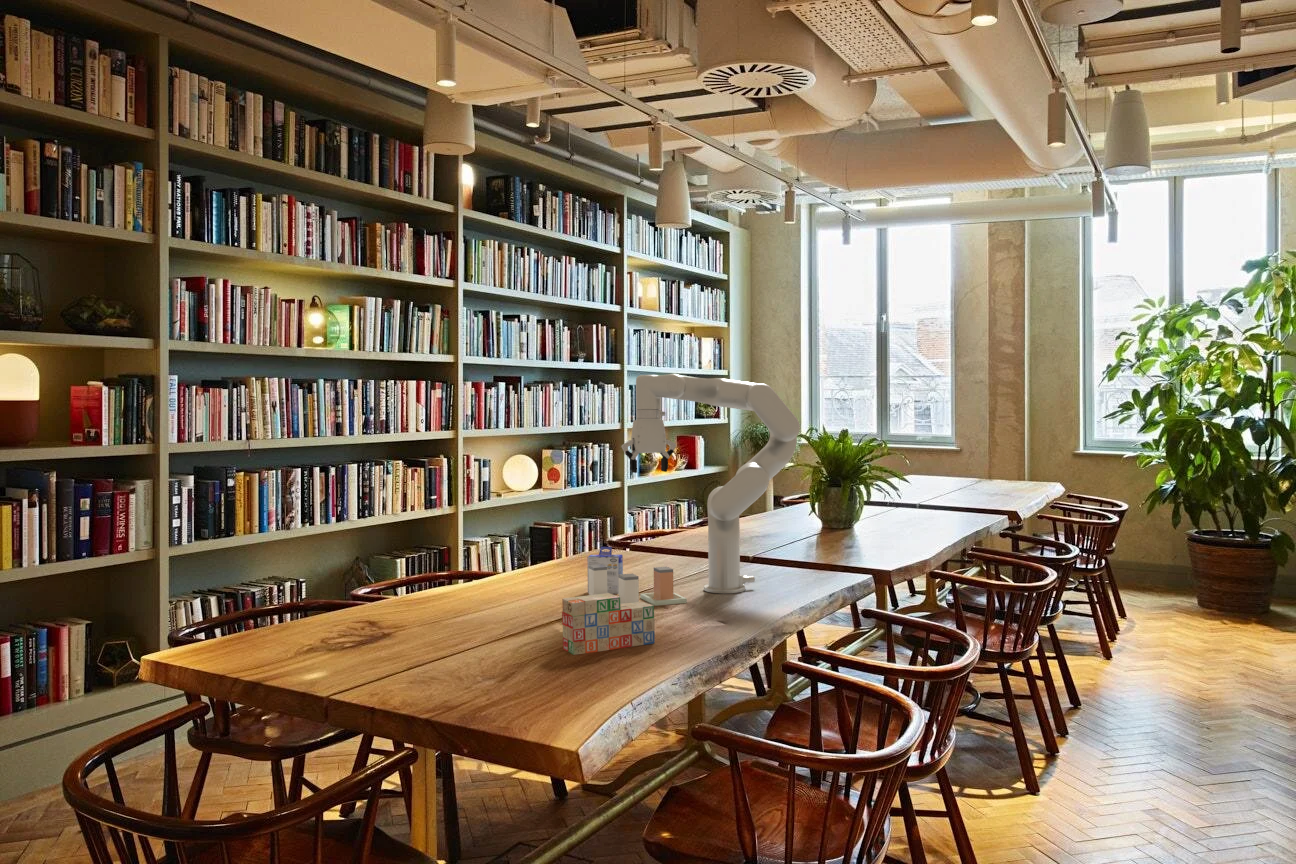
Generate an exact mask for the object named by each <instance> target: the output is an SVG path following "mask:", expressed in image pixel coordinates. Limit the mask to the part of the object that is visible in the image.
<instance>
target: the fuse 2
mask: <svg viewBox="0 0 1296 864" xmlns="http://www.w3.org/2000/svg"><path fill="white" fill-rule="evenodd" d="M618 577H619V594H618V597H620V604H624V603H633V602H640V599H639V598H640V593H639V591H640V590H639V588H640V585H639V581H640V580H639V577H640V576H638V575H636V574H634V573H623V574H618Z"/></svg>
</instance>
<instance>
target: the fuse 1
mask: <svg viewBox="0 0 1296 864" xmlns="http://www.w3.org/2000/svg"><path fill="white" fill-rule="evenodd" d="M604 593H607V567H606V566H604V565H602V564H600V565H589V593H588V595H595V594H604Z"/></svg>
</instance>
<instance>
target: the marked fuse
mask: <svg viewBox="0 0 1296 864" xmlns="http://www.w3.org/2000/svg"><path fill="white" fill-rule="evenodd" d="M673 592H674V568H671V567H669V566H653V593H654V598H653V599H654V600H667V599H675V598H673Z"/></svg>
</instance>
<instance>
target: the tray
mask: <svg viewBox="0 0 1296 864" xmlns="http://www.w3.org/2000/svg"><path fill="white" fill-rule="evenodd" d="M639 598H640V599H641V600H643V601H645V602H646V603H648V604H651V605H653V606H654V607H655V606H665V605H666V606H668V605H676V604H678V605H679V604H686V603H688V601H687V599H688V598H687V597H684V596H682V595H680V594H678V593H676V592H675V591H673V598H674V599H667V600H654V592H645V593H639Z"/></svg>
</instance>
